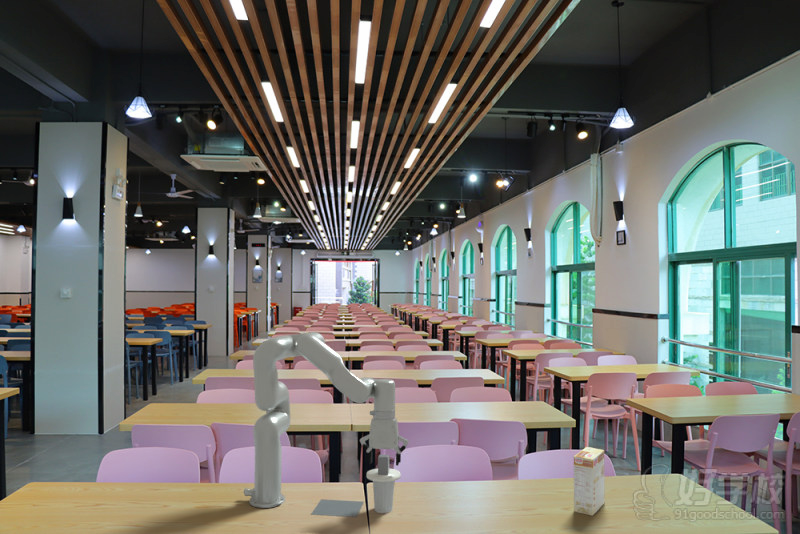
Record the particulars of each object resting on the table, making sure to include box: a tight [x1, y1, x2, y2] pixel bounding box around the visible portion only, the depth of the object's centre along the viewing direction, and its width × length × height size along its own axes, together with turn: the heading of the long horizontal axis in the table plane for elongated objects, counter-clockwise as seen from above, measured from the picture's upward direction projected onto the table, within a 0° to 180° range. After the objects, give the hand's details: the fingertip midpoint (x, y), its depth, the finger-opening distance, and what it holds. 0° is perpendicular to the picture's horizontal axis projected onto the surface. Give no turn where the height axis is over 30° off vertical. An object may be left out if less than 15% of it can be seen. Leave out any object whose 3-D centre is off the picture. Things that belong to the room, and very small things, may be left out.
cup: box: [372, 481, 396, 514], centre depth 201 cm, size 8×8×12 cm
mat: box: [310, 498, 365, 518], centre depth 202 cm, size 16×14×1 cm
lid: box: [366, 454, 401, 482], centre depth 201 cm, size 12×12×7 cm
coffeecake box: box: [573, 446, 606, 517], centre depth 206 cm, size 15×7×20 cm, turn 145°
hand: (383, 463), depth 202 cm, fingers open, 9 cm apart
